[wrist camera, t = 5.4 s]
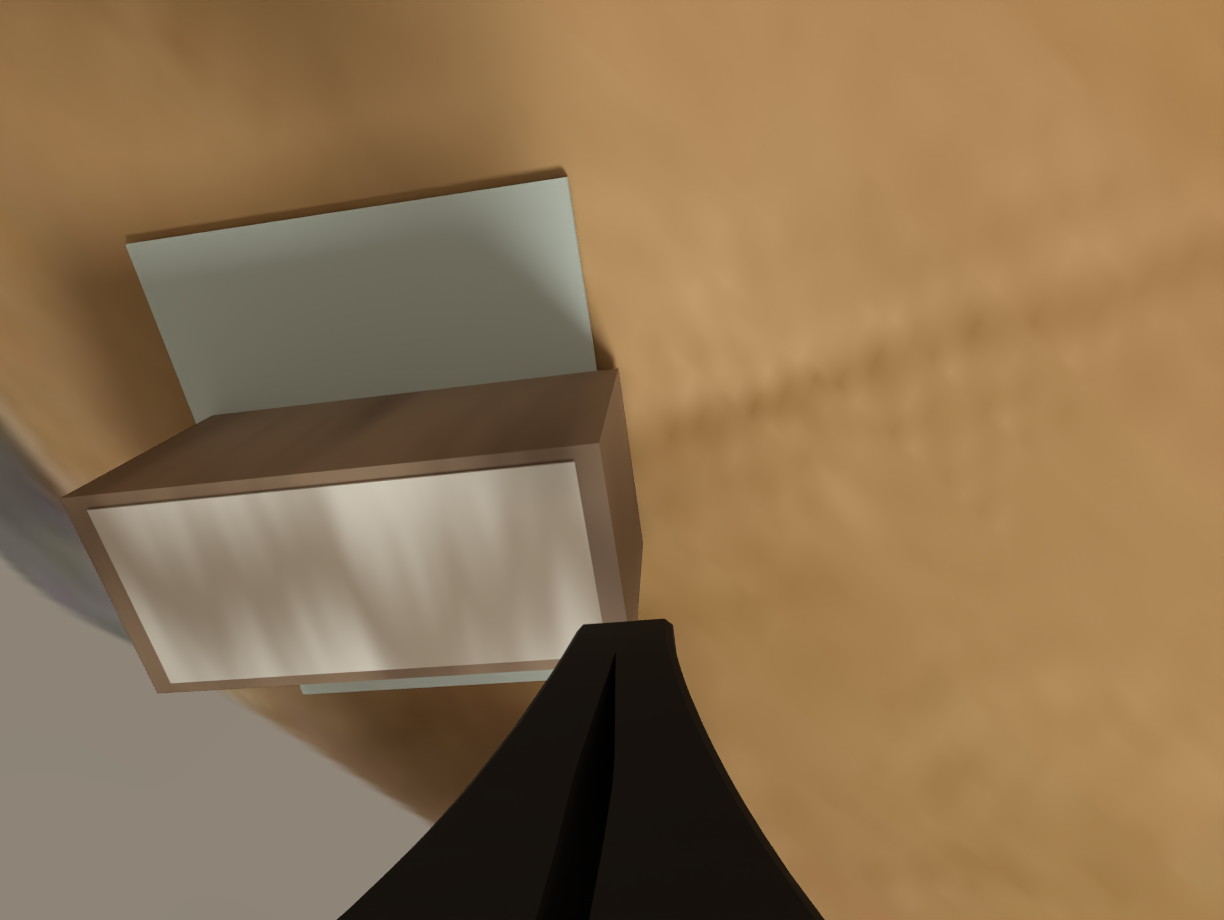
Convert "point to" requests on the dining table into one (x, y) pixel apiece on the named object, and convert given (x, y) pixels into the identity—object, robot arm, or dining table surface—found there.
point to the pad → (375, 312)
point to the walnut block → (373, 536)
